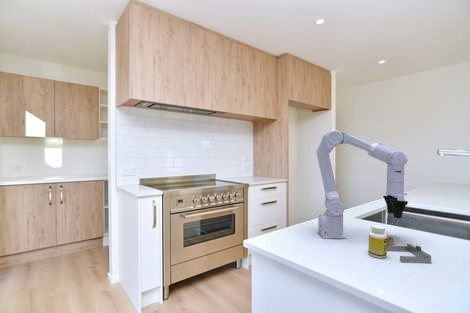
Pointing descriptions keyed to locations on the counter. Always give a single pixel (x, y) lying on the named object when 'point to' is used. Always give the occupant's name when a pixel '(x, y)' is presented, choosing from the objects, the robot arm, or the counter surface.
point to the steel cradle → (419, 254)
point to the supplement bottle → (377, 242)
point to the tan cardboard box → (390, 240)
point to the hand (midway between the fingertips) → (394, 215)
